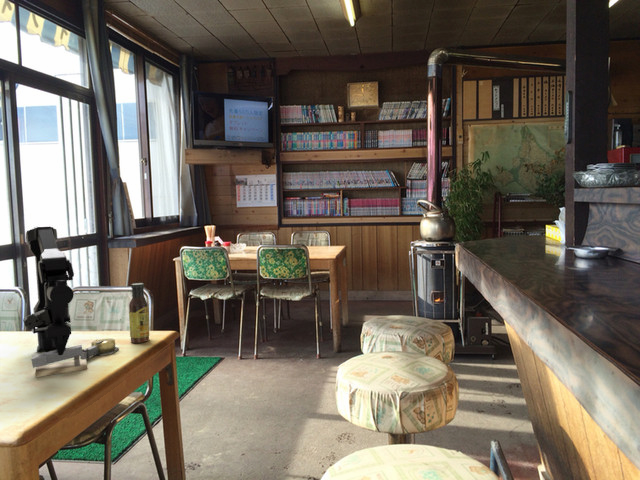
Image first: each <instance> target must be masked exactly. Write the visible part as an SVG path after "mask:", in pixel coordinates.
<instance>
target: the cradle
mask: <svg viewBox="0 0 640 480" xmlns="http://www.w3.org/2000/svg"><path fill="white" fill-rule="evenodd" d="M87 369H88V363H87V359H83V360H82V359H81V358H80V356H78V357H74V358H73V360H72V361H64V362H59V363H58V362H57V363H50V364H48V365H44V366H39V367H35V373H34V374H35V378H40V377H45V376H50V375H57V374H63V373H69V372H76V371H81V370H87Z"/></svg>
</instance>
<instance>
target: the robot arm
mask: <svg viewBox="0 0 640 480" xmlns="http://www.w3.org/2000/svg"><path fill="white" fill-rule="evenodd" d="M25 243H26V245H27V246H28V249H29V251H30V252H31V254H33V256H34V261H35V262H34V263H35V273H36V274H35V275H36V285H37V302H36V304H35V305H34V307H33V313H31V314H29V315H27V316H25V317H24V318H23V320H22V321H23V324H24V327H25V328H26V330H27V331H32V333H33V335H36V334H37V344H38V345H37V347H36V352H37V353H40V352H41V353H42V352H46V351H48V352H49V351H56V350H57V352H58V355H63V353H64V350H65V348H67V344H68V341H69V339H70V336H71V335H72V325H71V324H70V323H71V322H72V321H71V315H70V309H69V304H70V303H71V302H72V300H73V299H74V291H73V288H71V287H70V286H69V285H68V281H73V280H74V279H73V277H74V276H75V273H74V269H73V264H72V262H70V259H69V258H67V256H66V254H65V252H63V251H62V250H60V249H59V248H58V245H57V243H58V232H57V229H56V228H54V226H52V225H37V226H34V227H33V228H32V229H29V230H26V232H25Z"/></svg>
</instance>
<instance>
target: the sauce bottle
mask: <svg viewBox="0 0 640 480" xmlns="http://www.w3.org/2000/svg"><path fill="white" fill-rule="evenodd" d="M130 285H131V292H132V295H131V297H132V298H131V300H130V302H129V304H128V308H129V309H128V310H129V312H128V314H129V315H128V316H129V320H128V321H129V337H130V342H131V343H135V344H140V343H141V344H142V343H146V342H148V341H149V339H150V317H149V304H148V302H147V300H146V297H145V294H144V293H145V289H144V288H145V283H143V282H137V283H132V284H130Z"/></svg>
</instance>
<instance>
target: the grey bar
mask: <svg viewBox="0 0 640 480" xmlns="http://www.w3.org/2000/svg"><path fill="white" fill-rule="evenodd" d="M82 349H83V345H82V344H78V345H73V346H70V347H69V346H68V347H65V350H64V353H63V355H58V352H57V349H55V350H51V351H48V352H41V353H39V354H34V355H33V354H32V355H31V365H32V368H33V369H36V367H39V366H45V365H51V364H55V363H58V362H60V361H61V362H62V361H65V360H70V359H74V357H78V356H79V357H80V356H83V350H82Z"/></svg>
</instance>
